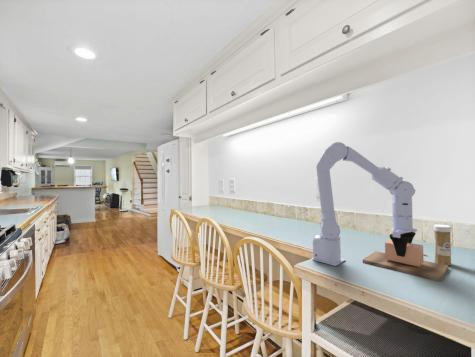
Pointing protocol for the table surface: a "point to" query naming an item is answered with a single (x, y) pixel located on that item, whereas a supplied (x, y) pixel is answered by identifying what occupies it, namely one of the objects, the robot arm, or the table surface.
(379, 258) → the stub board
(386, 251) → the block
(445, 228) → the sprinkles bottle
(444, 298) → the table surface
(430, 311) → the table surface
